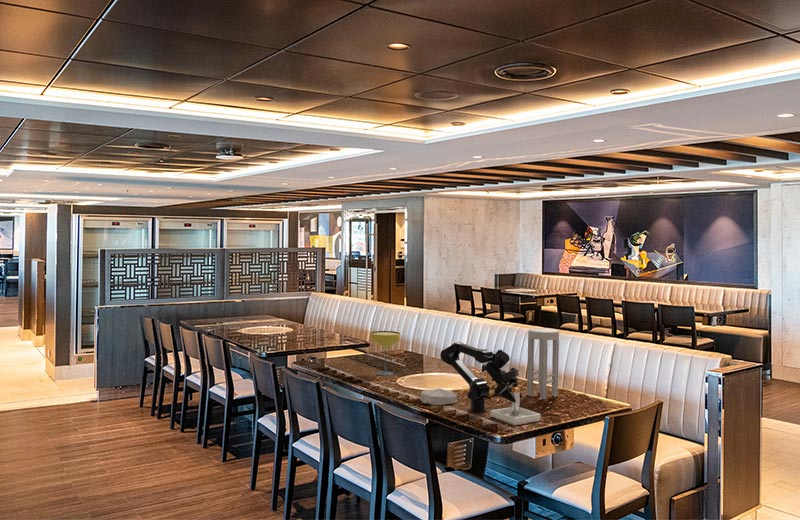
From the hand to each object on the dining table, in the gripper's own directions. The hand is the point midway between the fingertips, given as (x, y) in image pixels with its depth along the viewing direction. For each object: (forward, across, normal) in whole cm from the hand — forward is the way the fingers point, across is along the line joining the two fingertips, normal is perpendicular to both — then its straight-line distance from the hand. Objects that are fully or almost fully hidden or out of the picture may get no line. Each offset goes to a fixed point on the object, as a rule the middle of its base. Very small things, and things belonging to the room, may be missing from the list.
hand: (518, 399), depth 298 cm
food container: (-26, +13, +39) cm, 49 cm away
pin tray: (+5, 0, +7) cm, 9 cm away
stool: (+4, +51, +9) cm, 52 cm away
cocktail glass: (-66, +56, +79) cm, 117 cm away
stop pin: (+5, 0, +7) cm, 8 cm away
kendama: (-11, +40, +24) cm, 49 cm away
